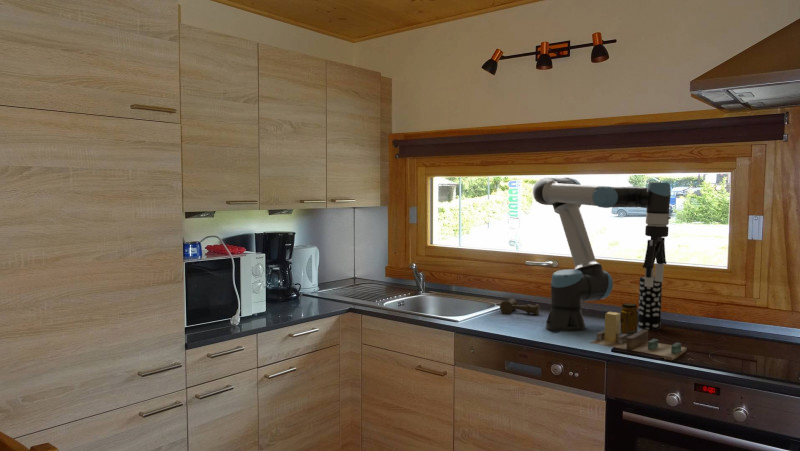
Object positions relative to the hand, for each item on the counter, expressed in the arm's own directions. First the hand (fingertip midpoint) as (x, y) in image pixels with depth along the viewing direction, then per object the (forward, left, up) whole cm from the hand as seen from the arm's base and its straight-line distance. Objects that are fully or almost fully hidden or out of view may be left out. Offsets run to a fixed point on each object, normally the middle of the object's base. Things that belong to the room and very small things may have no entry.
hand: (653, 284), depth 209 cm
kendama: (-63, +14, -22) cm, 68 cm away
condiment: (-10, +7, -22) cm, 25 cm away
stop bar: (-11, -10, -21) cm, 25 cm away
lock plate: (-2, -10, -22) cm, 24 cm away
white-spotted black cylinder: (-9, +25, -22) cm, 35 cm away
